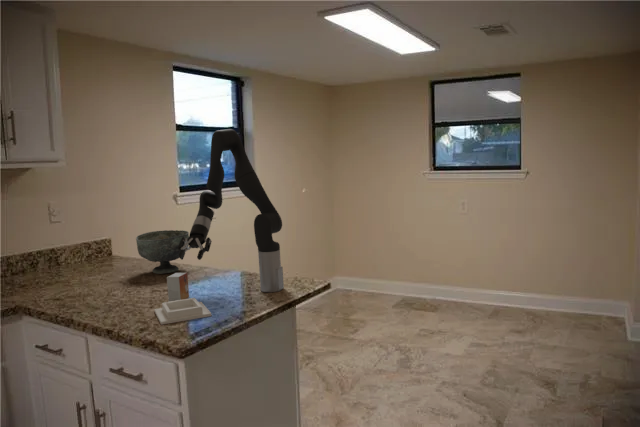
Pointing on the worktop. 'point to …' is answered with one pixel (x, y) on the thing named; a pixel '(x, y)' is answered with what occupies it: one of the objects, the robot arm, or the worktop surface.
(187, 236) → the decorative bowl
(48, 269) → the worktop surface
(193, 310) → the off-white tray
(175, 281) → the small box
